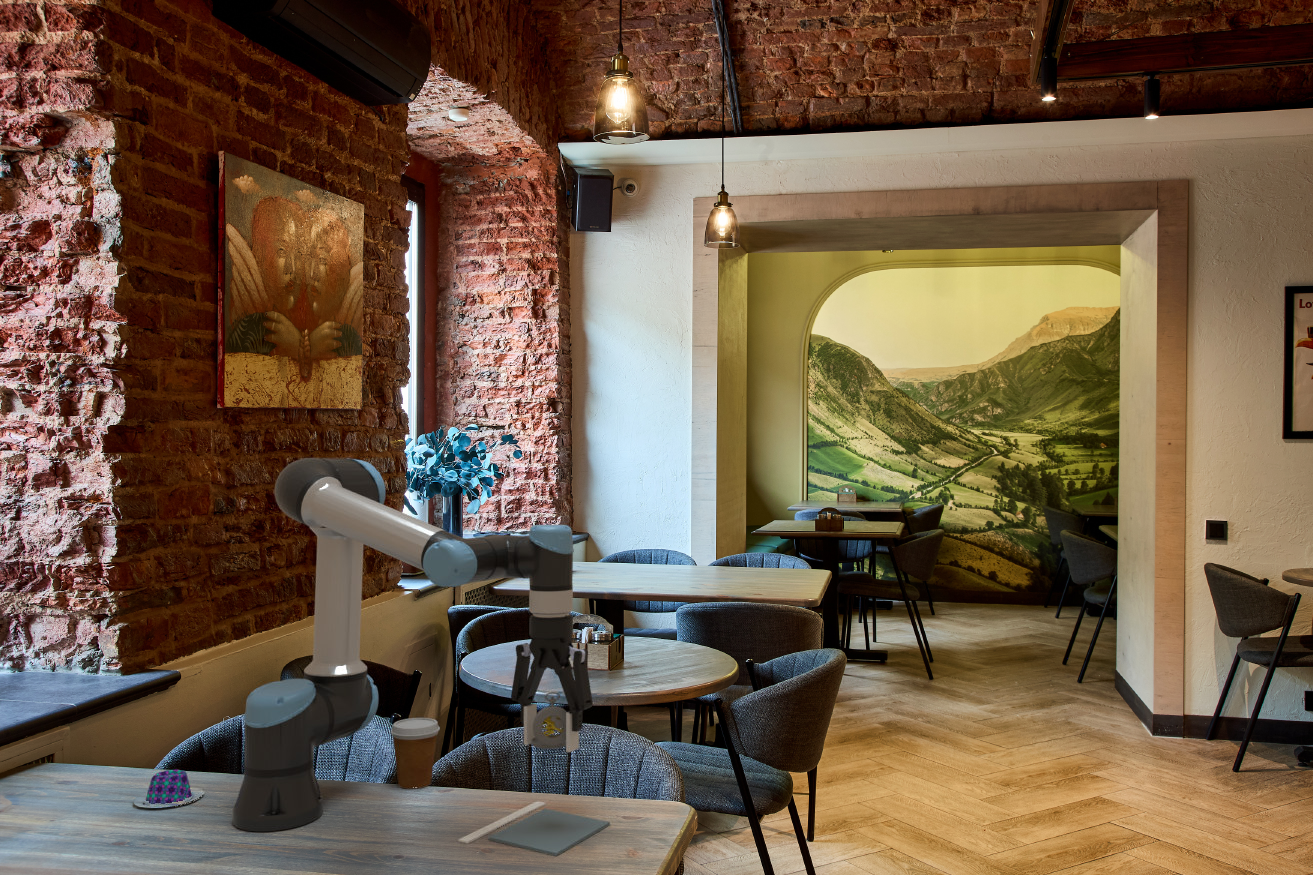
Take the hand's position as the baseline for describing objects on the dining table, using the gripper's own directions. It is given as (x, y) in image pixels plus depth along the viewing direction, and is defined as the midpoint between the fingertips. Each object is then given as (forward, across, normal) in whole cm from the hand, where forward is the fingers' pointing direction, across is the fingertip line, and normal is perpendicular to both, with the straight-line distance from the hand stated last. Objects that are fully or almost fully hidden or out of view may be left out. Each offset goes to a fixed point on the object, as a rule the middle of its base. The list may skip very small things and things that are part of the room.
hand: (551, 746), depth 164 cm
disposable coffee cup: (+15, +39, -8) cm, 43 cm away
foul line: (+15, +10, 0) cm, 18 cm away
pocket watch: (0, 0, 0) cm, 0 cm away
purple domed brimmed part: (+15, +73, +22) cm, 78 cm away
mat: (+15, 0, 0) cm, 15 cm away
